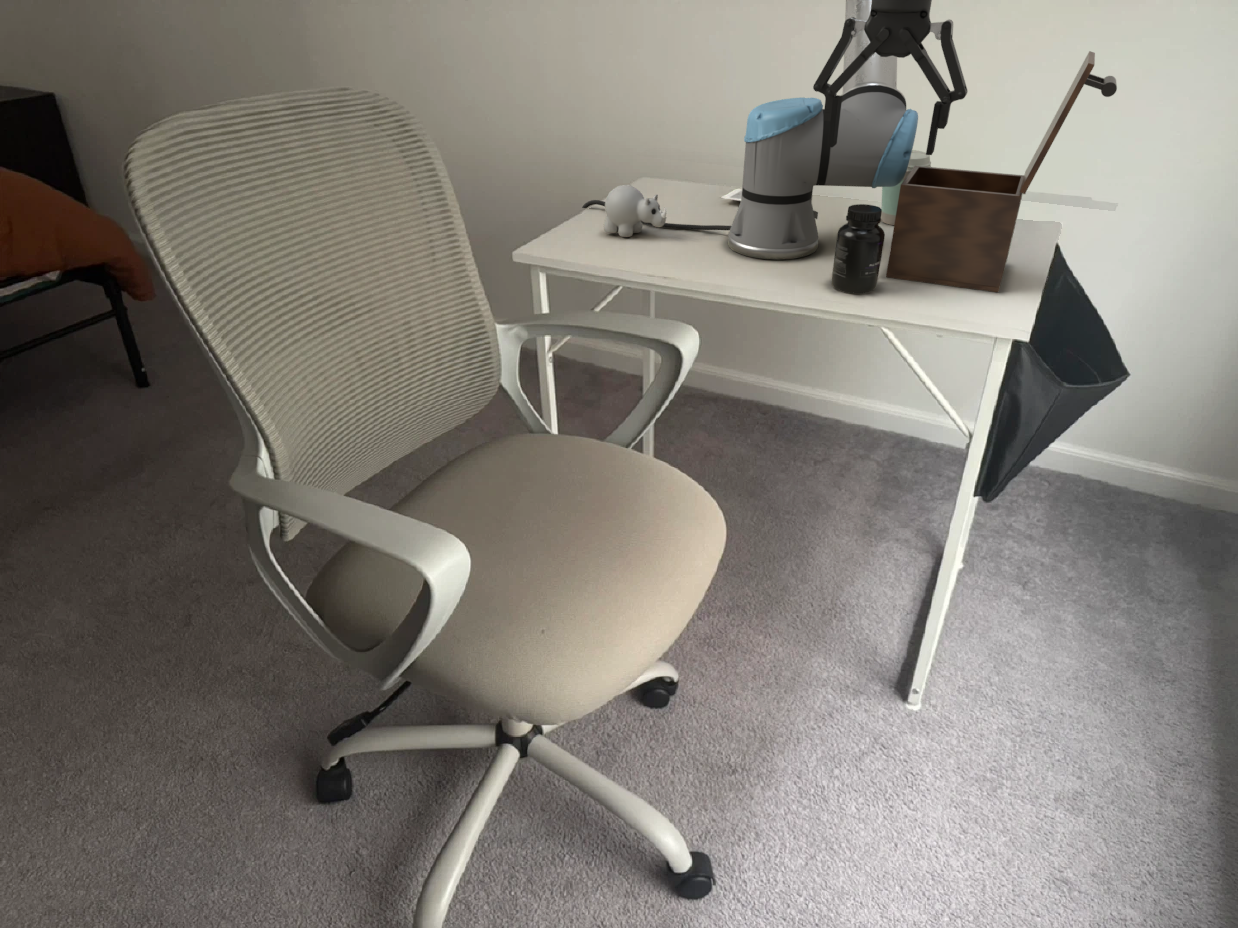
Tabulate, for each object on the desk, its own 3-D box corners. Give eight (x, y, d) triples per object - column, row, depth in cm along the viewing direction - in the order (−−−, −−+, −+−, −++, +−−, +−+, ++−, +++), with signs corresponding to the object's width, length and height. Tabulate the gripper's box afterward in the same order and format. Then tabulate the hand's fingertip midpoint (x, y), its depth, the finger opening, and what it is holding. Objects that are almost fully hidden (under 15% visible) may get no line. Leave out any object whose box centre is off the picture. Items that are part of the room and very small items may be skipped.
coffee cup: (926, 218, 160) (938, 151, 154) (914, 230, 154) (926, 161, 148) (881, 212, 164) (890, 146, 158) (867, 223, 158) (877, 156, 152)
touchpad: (736, 193, 176) (737, 183, 174) (806, 203, 169) (807, 192, 168) (720, 203, 170) (720, 192, 169) (791, 213, 163) (792, 202, 162)
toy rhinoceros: (654, 246, 148) (655, 197, 144) (597, 235, 154) (596, 187, 149) (675, 235, 153) (676, 187, 149) (619, 225, 159) (618, 178, 155)
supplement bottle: (877, 296, 128) (890, 215, 121) (830, 293, 129) (840, 213, 122) (875, 280, 133) (887, 202, 127) (830, 277, 135) (840, 200, 128)
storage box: (885, 277, 134) (900, 184, 127) (900, 253, 144) (914, 165, 136) (998, 292, 128) (1021, 196, 121) (1005, 266, 138) (1027, 175, 130)
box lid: (1088, 62, 110) (1127, 75, 109) (1089, 50, 120) (1125, 62, 118) (1019, 191, 121) (1054, 204, 120) (1025, 171, 130) (1057, 183, 129)
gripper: (1010, -24, 109) (975, 150, 120) (815, -26, 118) (799, 137, 129) (1006, -21, 103) (970, 162, 114) (802, -23, 112) (786, 147, 123)
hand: (879, 149), depth 121 cm, fingers open, 13 cm apart
